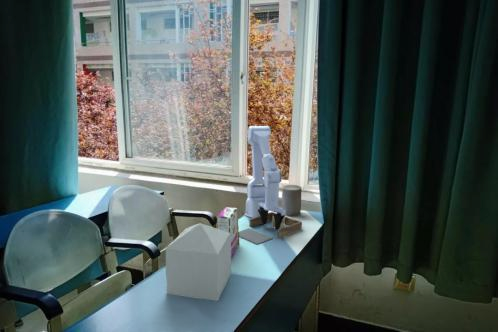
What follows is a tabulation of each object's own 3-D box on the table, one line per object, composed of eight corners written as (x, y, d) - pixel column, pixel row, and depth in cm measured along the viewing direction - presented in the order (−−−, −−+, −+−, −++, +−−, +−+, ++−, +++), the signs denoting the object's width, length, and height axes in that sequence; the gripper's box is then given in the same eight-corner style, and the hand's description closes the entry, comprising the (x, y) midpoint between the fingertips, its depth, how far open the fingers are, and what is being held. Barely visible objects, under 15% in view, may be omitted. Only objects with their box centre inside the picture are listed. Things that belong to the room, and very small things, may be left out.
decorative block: (231, 273, 116) (231, 216, 112) (218, 301, 100) (218, 235, 96) (185, 268, 118) (184, 212, 115) (165, 294, 103) (163, 230, 99)
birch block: (272, 226, 158) (272, 216, 157) (277, 224, 161) (278, 214, 160) (278, 229, 155) (279, 218, 154) (284, 227, 158) (285, 216, 157)
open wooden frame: (249, 226, 158) (249, 219, 157) (271, 218, 168) (271, 211, 167) (279, 238, 145) (280, 230, 144) (301, 229, 155) (302, 221, 155)
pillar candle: (301, 211, 180) (302, 183, 177) (299, 217, 171) (300, 187, 168) (282, 209, 182) (283, 181, 179) (279, 215, 173) (280, 186, 170)
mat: (233, 234, 148) (233, 233, 148) (248, 229, 154) (248, 228, 154) (257, 244, 138) (257, 243, 138) (272, 238, 145) (272, 237, 145)
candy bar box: (224, 246, 136) (225, 206, 133) (237, 248, 135) (237, 207, 132) (216, 259, 125) (216, 216, 122) (230, 261, 124) (230, 217, 121)
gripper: (253, 195, 154) (252, 224, 156) (278, 202, 144) (277, 233, 146) (264, 192, 159) (263, 220, 161) (289, 199, 148) (288, 229, 151)
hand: (270, 226), depth 154 cm, fingers open, 7 cm apart
